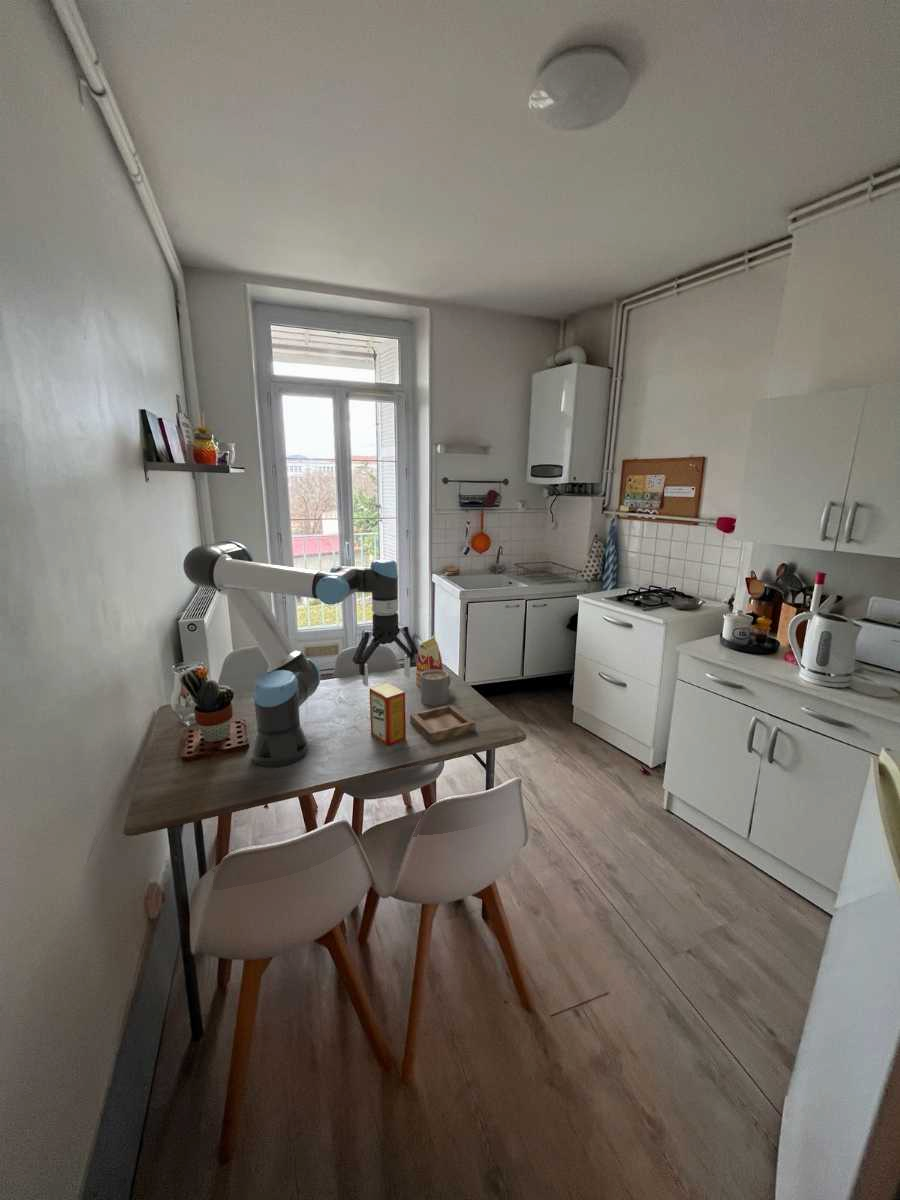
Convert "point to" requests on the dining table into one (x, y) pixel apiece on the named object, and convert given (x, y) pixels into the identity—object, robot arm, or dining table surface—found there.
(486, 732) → the dining table surface
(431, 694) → the coffee mug
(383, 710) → the baking soda box
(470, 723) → the tray
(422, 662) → the milk carton
